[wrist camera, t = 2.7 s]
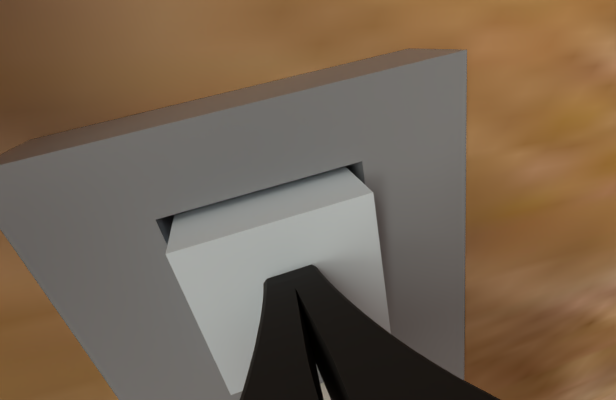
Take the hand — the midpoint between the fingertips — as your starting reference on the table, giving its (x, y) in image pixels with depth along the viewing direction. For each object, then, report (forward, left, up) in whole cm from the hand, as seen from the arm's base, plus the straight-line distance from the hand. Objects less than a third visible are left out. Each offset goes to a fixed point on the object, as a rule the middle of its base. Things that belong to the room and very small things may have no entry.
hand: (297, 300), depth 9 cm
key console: (0, -8, -4) cm, 9 cm away
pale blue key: (0, 0, -2) cm, 2 cm away
